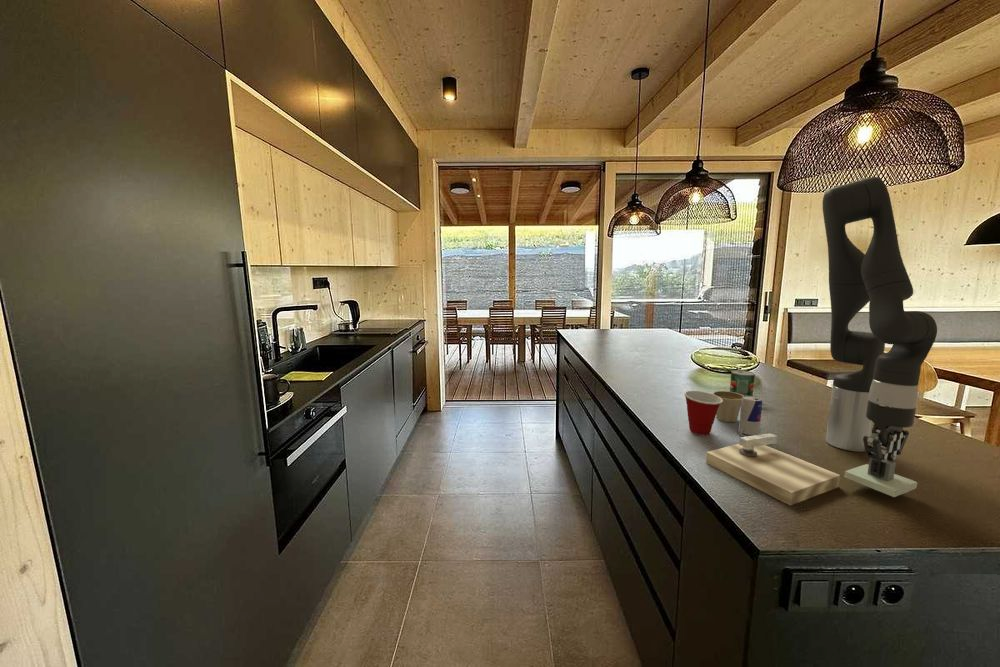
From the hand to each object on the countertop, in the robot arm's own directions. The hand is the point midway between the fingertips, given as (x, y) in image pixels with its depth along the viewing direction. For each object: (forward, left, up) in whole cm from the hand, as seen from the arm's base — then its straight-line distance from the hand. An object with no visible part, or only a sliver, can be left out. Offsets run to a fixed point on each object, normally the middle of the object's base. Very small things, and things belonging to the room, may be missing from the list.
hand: (880, 474), depth 89 cm
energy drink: (-3, -33, -5) cm, 33 cm away
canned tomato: (-33, -57, -5) cm, 66 cm away
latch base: (+15, -15, -4) cm, 22 cm away
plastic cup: (+8, -41, -5) cm, 42 cm away
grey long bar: (+12, -20, -1) cm, 23 cm away
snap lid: (0, 0, -2) cm, 2 cm away
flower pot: (-9, -45, -5) cm, 46 cm away
